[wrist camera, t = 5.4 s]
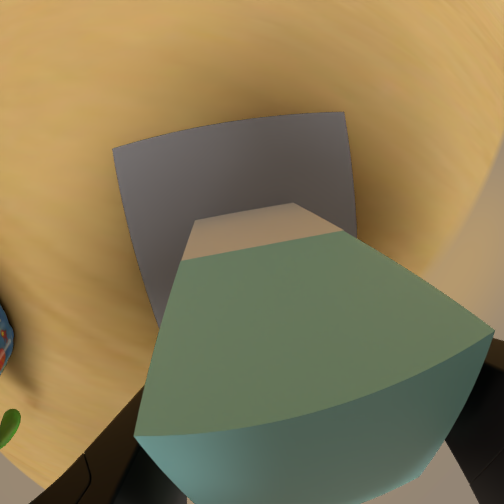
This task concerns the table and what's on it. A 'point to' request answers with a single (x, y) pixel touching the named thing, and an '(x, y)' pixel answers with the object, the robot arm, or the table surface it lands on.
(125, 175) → the mat
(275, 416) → the teal block
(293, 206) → the white block
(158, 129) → the table surface
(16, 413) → the snack cup
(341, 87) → the table surface
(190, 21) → the table surface
